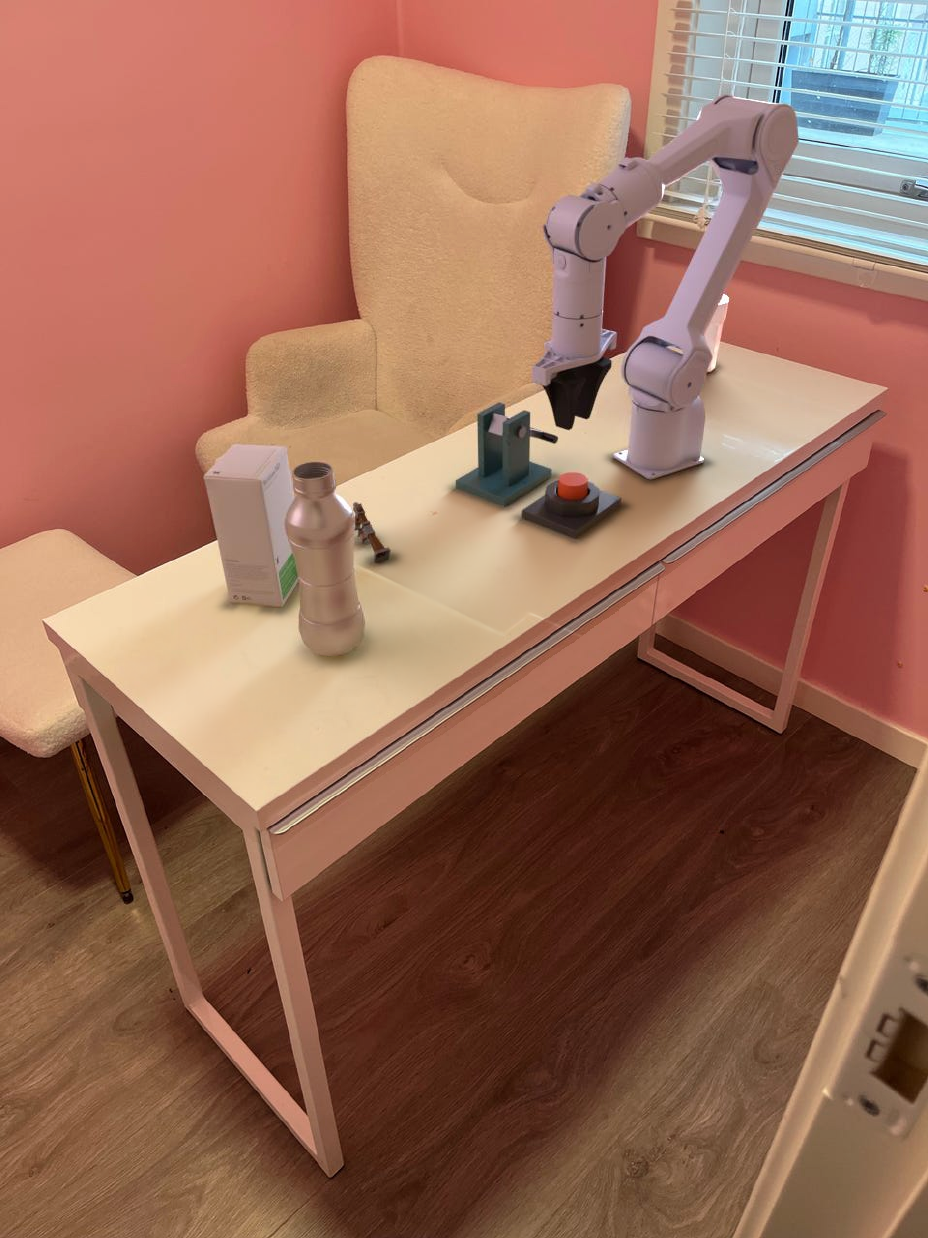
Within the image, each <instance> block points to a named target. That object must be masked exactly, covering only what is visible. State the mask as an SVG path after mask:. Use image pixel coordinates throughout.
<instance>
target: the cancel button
mask: <svg viewBox="0 0 928 1238" xmlns="http://www.w3.org/2000/svg"><path fill="white" fill-rule="evenodd" d="M557 480H558V495H559V497H562V498H565V499H574V500H577V499H581V498H585V497H586V496H587V491H588V481H589V478H588V476H587V475H585V474H583V473H580V472H575V471H573V472H572V471H571V472H564V473H562V474H560V475H559V477H558V478H557Z"/></svg>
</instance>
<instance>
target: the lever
mask: <svg viewBox="0 0 928 1238" xmlns="http://www.w3.org/2000/svg"><path fill="white" fill-rule="evenodd" d="M509 418H511V416H506V415H505V416H503V415H499V414H495V413H494V414H493V418H492V421H491V424H490V428H489V431H488V432H490V433H493V434H496V435H499V436H502V437H503V422H504V421H506V420H507V419H509ZM530 438H533V439H537V440H541V441H544V442H547V443H551V444H553V445H556V444H557V443H558V440H559V437H558V435H555V434H552V433H549V432H547V431H544V430H540V429H537V428H534V427H531V426H530Z"/></svg>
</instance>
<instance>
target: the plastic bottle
mask: <svg viewBox="0 0 928 1238" xmlns="http://www.w3.org/2000/svg"><path fill="white" fill-rule="evenodd" d="M291 478H292V486H293V493H294V495H295V496H294V500H293V502H292V503H291V505H290V507H289V509H288V511H287V513H286V518H285V523H284V524H285V530H286V535H287V537H288V541H289V544H290V547H291V550H292V553H293V557H294V560H295V565H296V570H297V574H298V580H299V581H298V590H299V591H298V592H299V610H298V633H299V635H300V638H301V640H302V643H303V644H304V646H305V647H306V648H307V649H309V650H310V651H311V652H312V653H313V654H316V655H319V656H322V657H323V656H324V657H337V656H341V655H342V656H343V655H345V654H348V653H350V652H352V651H354V650H355V649H356V648H357V647H358V646H359V644H360V643H361V641H362V640H363V638H364V635H365V627H366V618H365V616H364V611H363V607H362V604H361V602H360V600H359V595H358V589H357V585H356V579H355V568H354V564H355V563H354V547H355V533H356V531H355V513H354V511H353V508H352V507H351V506H350V504H349V503H348V502H347V501H346V500H345V499H344V498H343V496H341V495H340V494H339V493H338V492H337V491H336V489H337V488H338V487H337V480H336V479H335V474H334V468H333V466H332V465H331V464H329V463H327V462H324V461H308V462H304V463H301V464H298V465H296V466H294V467H293V469H292V471H291Z"/></svg>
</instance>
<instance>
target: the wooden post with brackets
mask: <svg viewBox="0 0 928 1238" xmlns="http://www.w3.org/2000/svg"><path fill="white" fill-rule="evenodd" d="M352 512H353V513H354V517H355V532H356V531H357V538H359V539H360V542H361V543H364V544H365V545H368V544H369V543H370V545H371V547H372V550H373V552H374V555H373V561H374V562H375V563H376V562H379V561H382V560H387V559H389V558H390V554H391V549H390V547H389V546H388V547H385V546H384V544H382V542H381V540H380V539H379V538H378V537H377V535H376V531H375V530H374V527H373V524H371V521H370V520H368V518H367V515H366V510H365V509H364V507H363V504H362V502H360V503H359V502H358V501H354V502H353V503H352Z"/></svg>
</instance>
